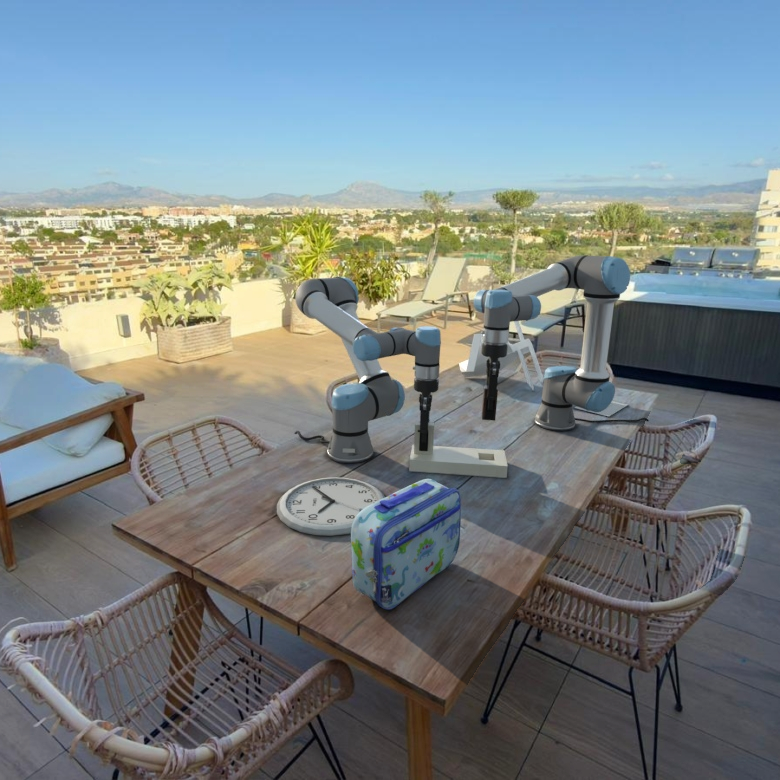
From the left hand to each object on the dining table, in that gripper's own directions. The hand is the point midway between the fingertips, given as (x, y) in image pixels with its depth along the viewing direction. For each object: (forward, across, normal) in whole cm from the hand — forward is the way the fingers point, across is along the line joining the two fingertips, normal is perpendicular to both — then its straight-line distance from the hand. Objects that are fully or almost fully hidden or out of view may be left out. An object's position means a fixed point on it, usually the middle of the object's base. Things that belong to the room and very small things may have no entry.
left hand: (423, 448), depth 167 cm
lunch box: (+6, +59, 0) cm, 59 cm away
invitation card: (+6, -69, +73) cm, 101 cm away
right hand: (-12, -2, +20) cm, 23 cm away
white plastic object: (+6, -96, +31) cm, 101 cm away
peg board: (+6, 0, +11) cm, 12 cm away
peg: (-11, -2, +20) cm, 23 cm away
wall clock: (+6, +30, -23) cm, 38 cm away
